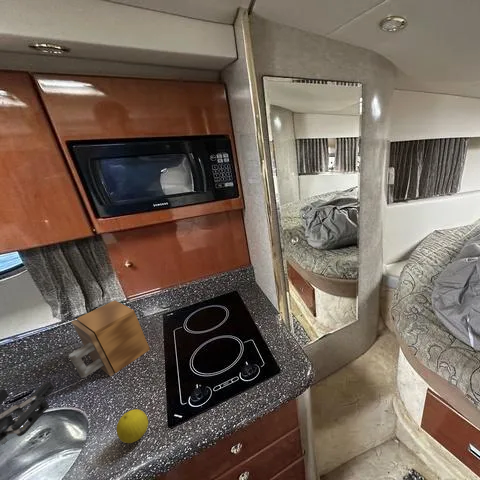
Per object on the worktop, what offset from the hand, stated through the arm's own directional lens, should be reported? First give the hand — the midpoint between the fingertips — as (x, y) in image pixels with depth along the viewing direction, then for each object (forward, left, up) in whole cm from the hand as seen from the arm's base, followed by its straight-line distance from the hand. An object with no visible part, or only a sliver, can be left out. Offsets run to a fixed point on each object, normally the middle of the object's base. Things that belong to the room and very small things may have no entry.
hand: (27, 388), depth 54 cm
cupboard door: (+11, +11, -14) cm, 22 cm away
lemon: (+9, -20, -15) cm, 26 cm away
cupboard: (+20, +11, -14) cm, 27 cm away
